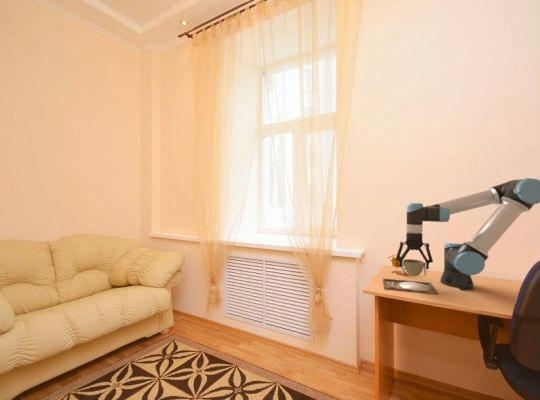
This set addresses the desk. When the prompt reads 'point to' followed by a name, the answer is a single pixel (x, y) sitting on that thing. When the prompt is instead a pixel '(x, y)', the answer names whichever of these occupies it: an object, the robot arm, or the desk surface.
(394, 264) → the figurine
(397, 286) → the tray
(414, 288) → the saucer
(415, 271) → the flower pot
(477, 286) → the desk surface
